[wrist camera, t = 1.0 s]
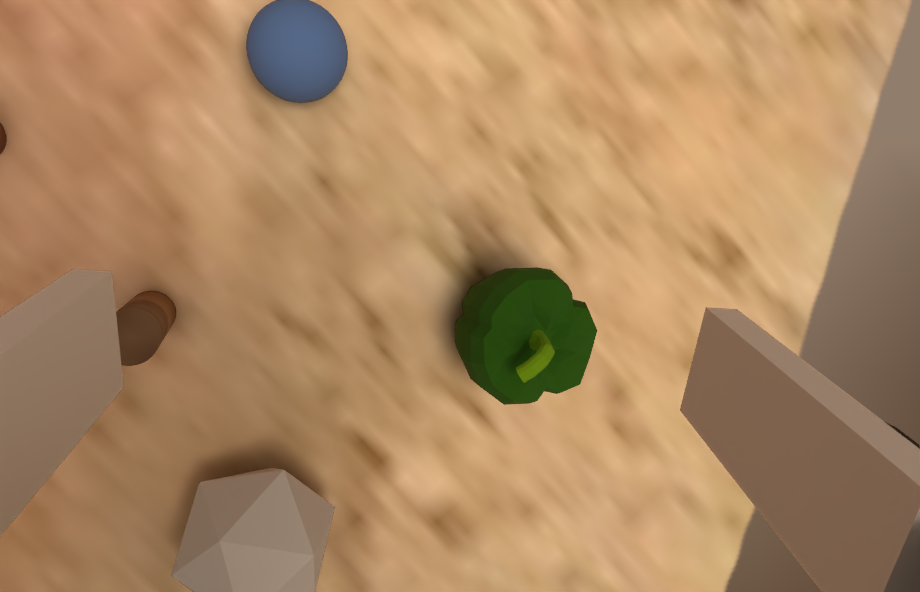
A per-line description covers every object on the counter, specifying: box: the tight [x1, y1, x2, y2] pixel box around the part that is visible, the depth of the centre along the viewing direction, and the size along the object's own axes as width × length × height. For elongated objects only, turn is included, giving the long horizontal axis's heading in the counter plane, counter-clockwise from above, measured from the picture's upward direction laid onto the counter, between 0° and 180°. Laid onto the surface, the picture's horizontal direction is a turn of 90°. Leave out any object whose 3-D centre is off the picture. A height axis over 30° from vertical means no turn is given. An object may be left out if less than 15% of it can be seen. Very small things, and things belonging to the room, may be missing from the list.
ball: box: [246, 0, 348, 103], centre depth 35 cm, size 6×6×6 cm
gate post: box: [116, 291, 176, 366], centre depth 33 cm, size 3×3×8 cm
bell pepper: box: [455, 268, 597, 404], centre depth 40 cm, size 8×8×10 cm
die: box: [171, 468, 335, 592], centre depth 37 cm, size 8×9×10 cm
